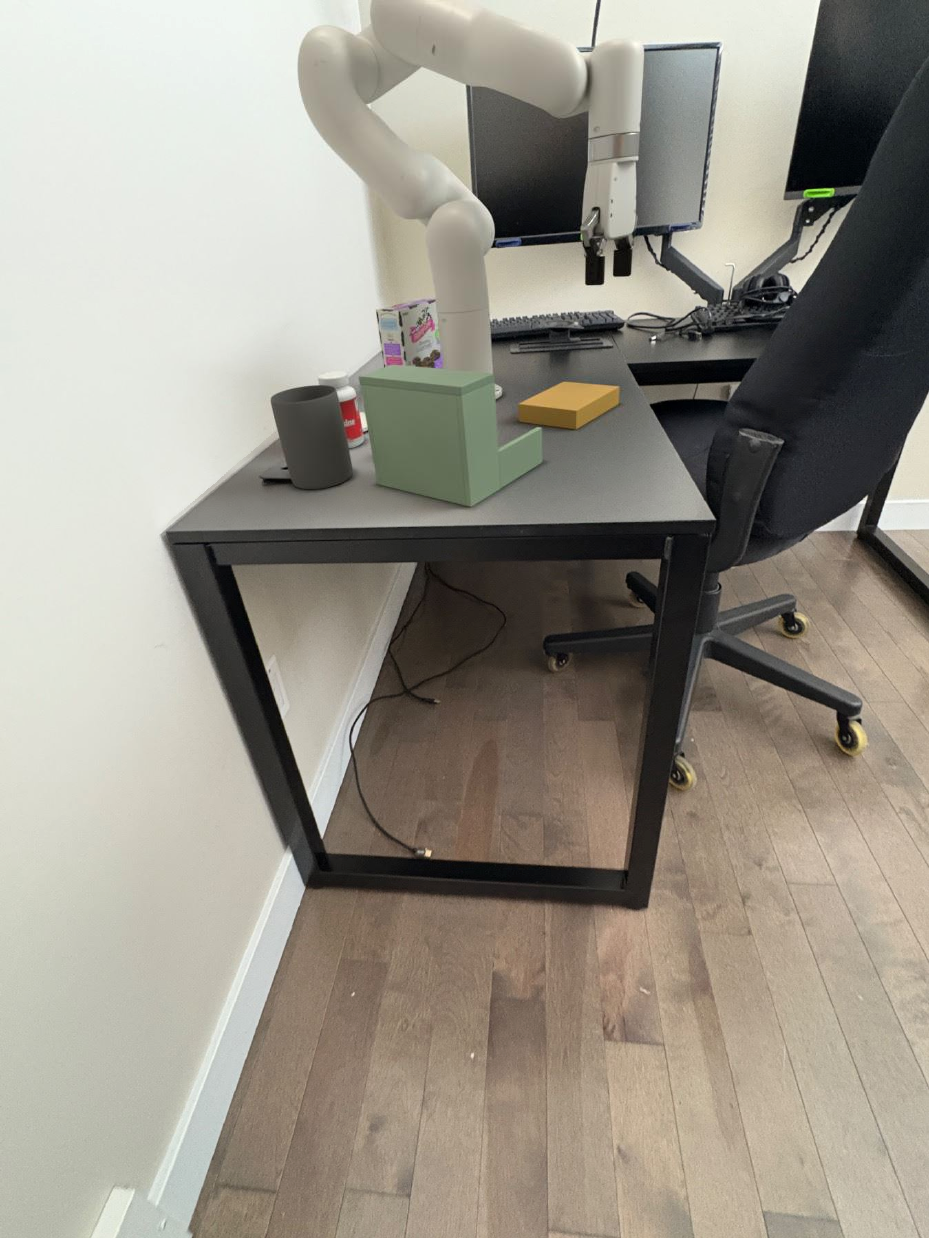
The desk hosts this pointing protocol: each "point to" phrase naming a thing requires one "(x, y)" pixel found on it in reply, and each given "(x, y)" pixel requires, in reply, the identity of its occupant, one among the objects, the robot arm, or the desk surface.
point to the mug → (312, 436)
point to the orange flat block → (569, 404)
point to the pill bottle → (346, 405)
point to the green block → (441, 433)
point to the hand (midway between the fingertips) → (608, 280)
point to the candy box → (410, 334)
